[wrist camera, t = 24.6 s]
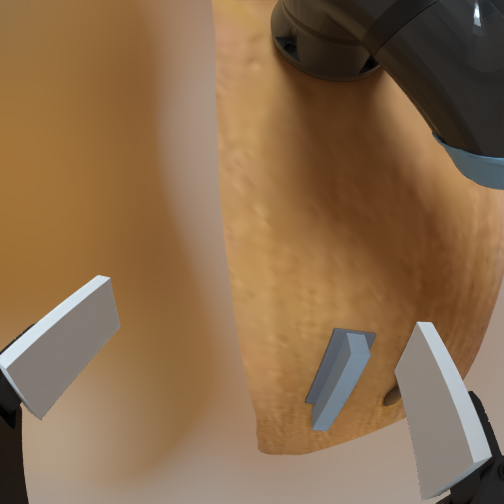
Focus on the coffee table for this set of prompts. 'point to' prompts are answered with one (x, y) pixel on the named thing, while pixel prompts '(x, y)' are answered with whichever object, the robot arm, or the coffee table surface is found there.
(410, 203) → the coffee table surface
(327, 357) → the mat
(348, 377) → the stick
